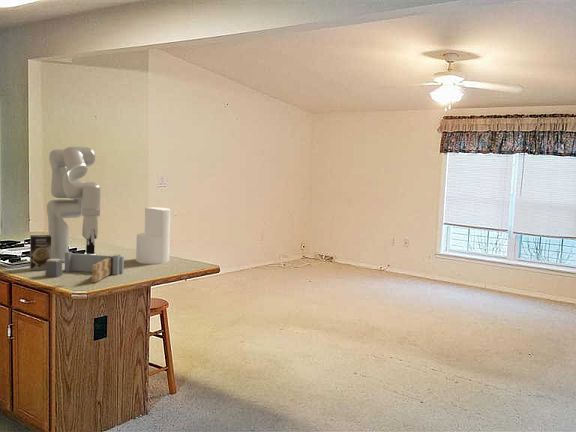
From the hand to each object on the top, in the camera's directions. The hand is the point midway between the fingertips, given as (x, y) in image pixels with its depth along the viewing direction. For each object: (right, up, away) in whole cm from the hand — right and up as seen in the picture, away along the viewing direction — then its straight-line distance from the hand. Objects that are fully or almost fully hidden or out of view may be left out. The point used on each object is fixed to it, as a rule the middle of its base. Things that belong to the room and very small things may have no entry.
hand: (90, 253), depth 243 cm
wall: (-6, -10, +19) cm, 23 cm away
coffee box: (-31, -9, +21) cm, 39 cm away
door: (+3, -12, +8) cm, 14 cm away
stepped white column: (+14, -8, +54) cm, 56 cm away
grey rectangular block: (-20, -11, +8) cm, 24 cm away
